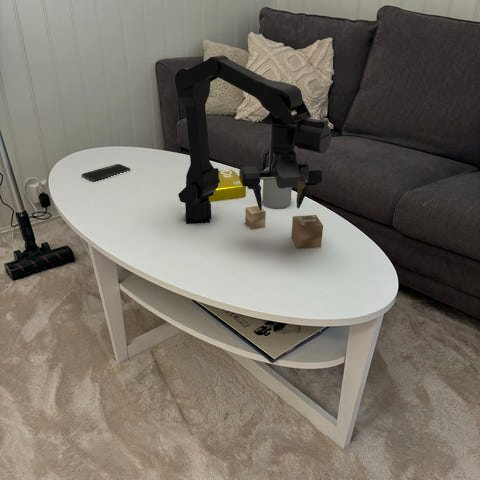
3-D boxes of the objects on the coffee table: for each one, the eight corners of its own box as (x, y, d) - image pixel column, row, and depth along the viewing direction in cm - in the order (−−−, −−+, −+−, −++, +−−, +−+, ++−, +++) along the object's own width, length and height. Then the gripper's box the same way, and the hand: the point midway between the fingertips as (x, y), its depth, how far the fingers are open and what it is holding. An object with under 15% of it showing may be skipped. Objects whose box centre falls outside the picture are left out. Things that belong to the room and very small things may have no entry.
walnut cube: (323, 225, 113) (320, 247, 115) (316, 214, 118) (313, 236, 121) (299, 226, 112) (297, 248, 115) (292, 215, 117) (291, 237, 120)
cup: (288, 210, 135) (291, 177, 130) (260, 207, 136) (261, 175, 132) (291, 199, 142) (294, 167, 137) (265, 196, 144) (266, 165, 139)
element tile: (188, 186, 151) (187, 172, 149) (232, 181, 156) (232, 167, 153) (200, 204, 139) (199, 189, 137) (247, 198, 143) (248, 183, 141)
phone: (80, 174, 156) (118, 163, 166) (80, 177, 157) (118, 166, 166) (93, 180, 151) (131, 168, 161) (93, 183, 152) (132, 172, 162)
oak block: (251, 230, 124) (251, 213, 121) (245, 224, 127) (245, 207, 124) (264, 228, 125) (265, 211, 123) (258, 222, 128) (259, 205, 126)
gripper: (247, 158, 96) (246, 226, 104) (334, 154, 99) (327, 221, 106) (239, 142, 106) (238, 205, 113) (319, 139, 108) (313, 201, 116)
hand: (279, 208), depth 112 cm, fingers open, 9 cm apart
